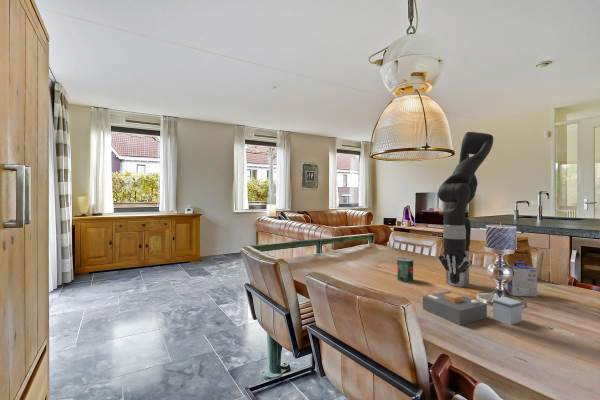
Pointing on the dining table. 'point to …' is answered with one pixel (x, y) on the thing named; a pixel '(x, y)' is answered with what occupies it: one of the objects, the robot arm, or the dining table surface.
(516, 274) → the ink cartridge box
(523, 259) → the coffee package
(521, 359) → the dining table surface
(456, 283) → the robot arm
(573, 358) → the dining table surface
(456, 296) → the breaker button
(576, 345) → the dining table surface
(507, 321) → the cap
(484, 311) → the box
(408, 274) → the canned tomato
